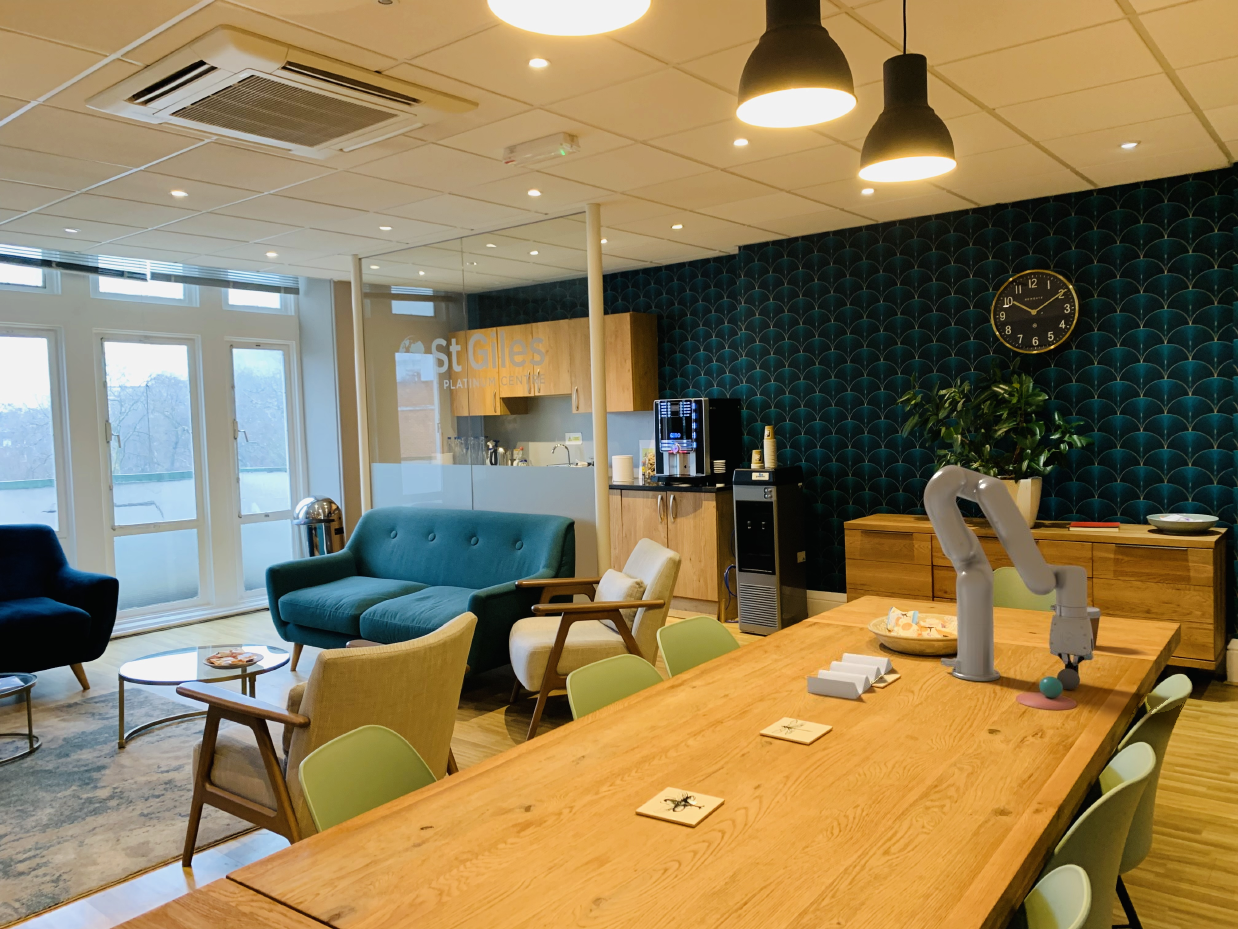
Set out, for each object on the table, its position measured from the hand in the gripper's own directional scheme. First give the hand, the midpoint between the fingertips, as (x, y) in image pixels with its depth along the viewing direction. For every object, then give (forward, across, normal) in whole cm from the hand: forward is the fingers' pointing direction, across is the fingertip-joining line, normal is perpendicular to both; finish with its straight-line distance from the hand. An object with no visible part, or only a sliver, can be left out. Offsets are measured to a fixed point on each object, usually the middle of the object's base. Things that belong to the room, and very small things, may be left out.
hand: (1071, 678), depth 242 cm
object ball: (-1, 0, -16) cm, 16 cm away
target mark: (+2, 0, -20) cm, 20 cm away
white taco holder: (+3, -48, -33) cm, 58 cm away
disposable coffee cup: (+2, -10, +44) cm, 45 cm away
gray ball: (-1, +1, -6) cm, 6 cm away
